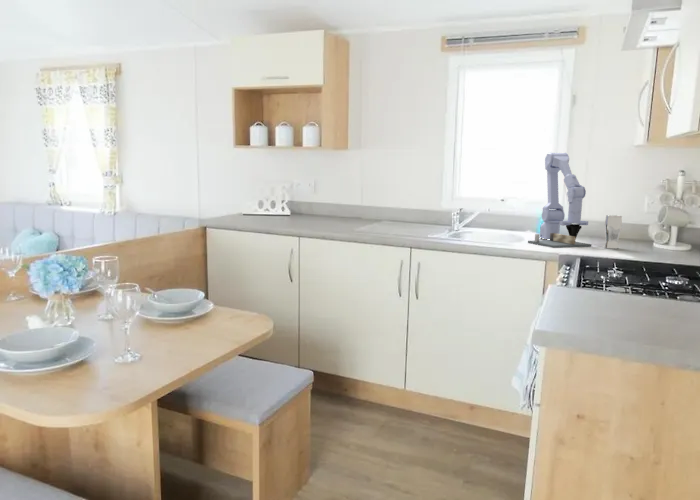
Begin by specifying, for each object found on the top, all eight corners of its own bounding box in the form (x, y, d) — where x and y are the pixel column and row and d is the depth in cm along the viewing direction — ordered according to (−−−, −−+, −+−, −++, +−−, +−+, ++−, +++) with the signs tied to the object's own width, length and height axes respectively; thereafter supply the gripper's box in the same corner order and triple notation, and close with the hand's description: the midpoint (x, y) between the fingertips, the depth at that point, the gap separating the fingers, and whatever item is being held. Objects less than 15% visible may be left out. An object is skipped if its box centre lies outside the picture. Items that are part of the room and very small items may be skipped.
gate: (548, 240, 270) (549, 232, 270) (552, 239, 271) (553, 232, 271) (571, 244, 256) (572, 236, 255) (575, 244, 257) (576, 236, 256)
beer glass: (610, 249, 250) (613, 216, 248) (599, 247, 257) (602, 215, 255) (622, 249, 252) (625, 216, 250) (612, 247, 259) (614, 215, 257)
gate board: (527, 242, 268) (528, 232, 268) (564, 241, 276) (564, 232, 275) (553, 247, 252) (554, 237, 251) (591, 246, 259) (592, 236, 259)
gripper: (567, 212, 255) (565, 241, 257) (593, 212, 259) (591, 241, 261) (557, 211, 262) (555, 239, 263) (583, 211, 266) (581, 239, 267)
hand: (572, 240), depth 263 cm, fingers closed
